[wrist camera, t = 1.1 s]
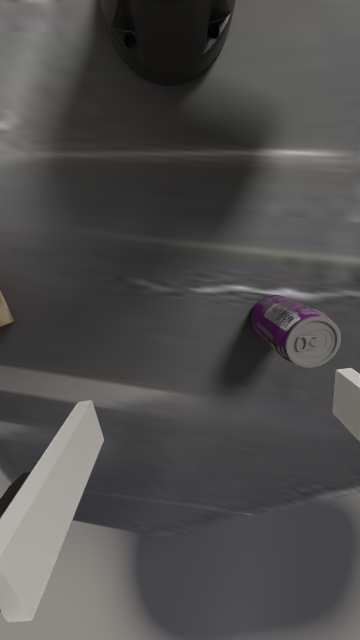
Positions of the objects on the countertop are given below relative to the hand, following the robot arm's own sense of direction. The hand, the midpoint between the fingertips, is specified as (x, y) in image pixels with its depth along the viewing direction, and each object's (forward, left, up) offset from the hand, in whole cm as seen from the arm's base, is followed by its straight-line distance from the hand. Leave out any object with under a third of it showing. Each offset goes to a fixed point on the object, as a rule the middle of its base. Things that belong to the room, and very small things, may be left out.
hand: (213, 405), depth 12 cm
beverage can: (+3, +13, -25) cm, 29 cm away
